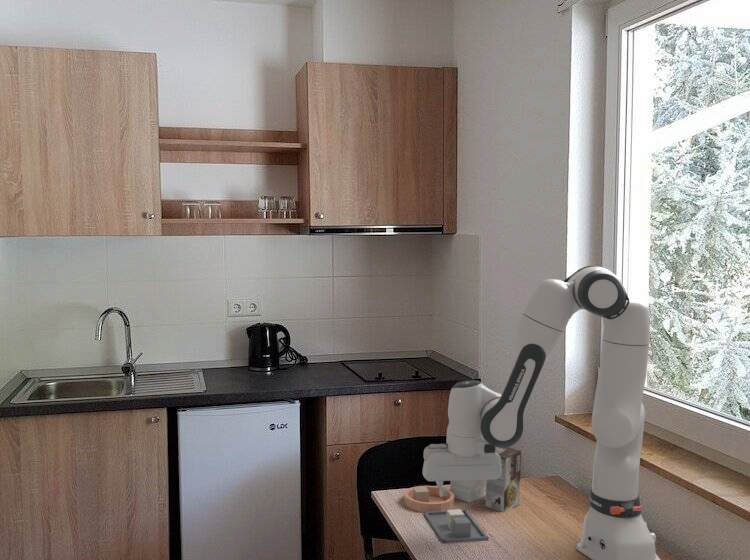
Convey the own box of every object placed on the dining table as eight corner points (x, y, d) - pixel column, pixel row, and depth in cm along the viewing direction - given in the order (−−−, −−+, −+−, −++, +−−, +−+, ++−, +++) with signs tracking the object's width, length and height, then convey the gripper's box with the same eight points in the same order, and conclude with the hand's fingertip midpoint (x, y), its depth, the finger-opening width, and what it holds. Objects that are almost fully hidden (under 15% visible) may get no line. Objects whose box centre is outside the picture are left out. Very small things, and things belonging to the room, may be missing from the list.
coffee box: (500, 499, 231) (502, 445, 229) (520, 504, 226) (522, 450, 225) (484, 508, 224) (486, 452, 222) (504, 514, 219) (506, 457, 218)
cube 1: (428, 505, 223) (429, 491, 223) (415, 505, 222) (416, 492, 222) (425, 500, 226) (426, 487, 226) (412, 501, 226) (413, 487, 225)
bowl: (460, 512, 219) (460, 502, 219) (411, 515, 217) (411, 505, 216) (445, 494, 233) (446, 484, 233) (399, 497, 230) (399, 487, 230)
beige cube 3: (464, 529, 207) (464, 514, 207) (450, 529, 207) (450, 515, 206) (459, 523, 211) (460, 509, 210) (446, 524, 210) (446, 509, 210)
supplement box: (484, 497, 231) (486, 455, 230) (469, 504, 226) (470, 461, 225) (464, 491, 236) (465, 449, 235) (448, 497, 231) (450, 455, 230)
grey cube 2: (470, 537, 202) (471, 522, 202) (456, 538, 201) (456, 523, 201) (466, 532, 205) (466, 517, 205) (452, 532, 205) (452, 518, 204)
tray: (488, 541, 201) (488, 537, 201) (442, 544, 199) (442, 540, 199) (466, 513, 219) (466, 509, 219) (424, 516, 217) (424, 511, 216)
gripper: (427, 448, 196) (424, 501, 197) (505, 446, 200) (502, 499, 201) (420, 440, 202) (418, 492, 203) (496, 438, 206) (493, 490, 207)
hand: (460, 495), depth 202 cm, fingers open, 8 cm apart
